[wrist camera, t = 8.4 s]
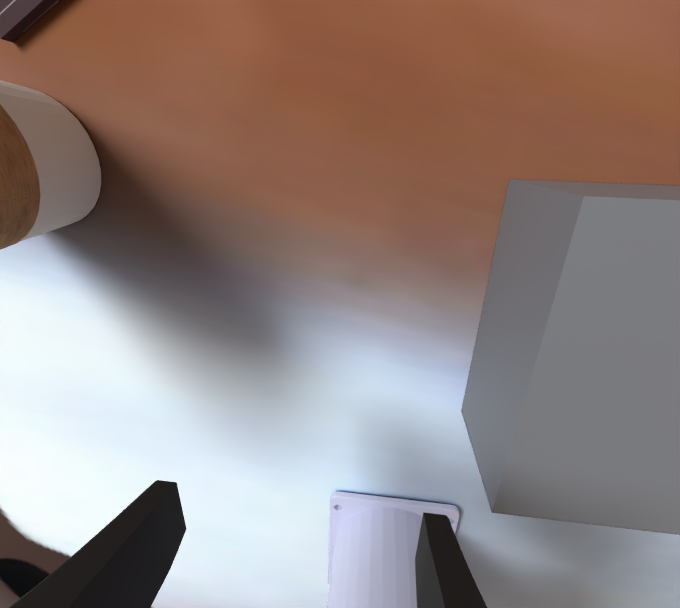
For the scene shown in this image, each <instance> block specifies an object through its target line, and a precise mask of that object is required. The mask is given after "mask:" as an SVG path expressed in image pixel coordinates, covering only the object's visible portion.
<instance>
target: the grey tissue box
mask: <svg viewBox="0 0 680 608" xmlns="http://www.w3.org/2000/svg"><path fill="white" fill-rule="evenodd" d="M461 412H462V415H463V418H464V421H465V425H466V428H467V431H468V435H469V438H470V441H471V445H472V448H473V451H474V455H475V458H476V461H477V465H478V468H479V471H480V475H481V478H482V481H483V485H484V488H485V491H486V495H487V498H488V501H489V505H490V508H491V511H492V513H501V514H509V515H517V516H526V517H534V518H543V519H551V520H560V521H568V522H577V523H585V524H593V525H602V526H610V527H619V528H627V529H636V530H644V531H652V532H661V533H669V534H678V535H680V186H673V185H648V184H622V183H597V182H571V181H546V180H520V179H509V183H508V188H507V193H506V198H505V203H504V207H503V212H502V217H501V222H500V227H499V232H498V236H497V241H496V246H495V251H494V256H493V261H492V265H491V270H490V275H489V280H488V285H487V289H486V294H485V299H484V304H483V309H482V314H481V318H480V323H479V328H478V333H477V338H476V343H475V347H474V352H473V357H472V362H471V367H470V371H469V376H468V381H467V386H466V391H465V396H464V400H463V405H462V410H461Z"/></svg>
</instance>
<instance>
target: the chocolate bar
mask: <svg viewBox="0 0 680 608" xmlns="http://www.w3.org/2000/svg"><path fill="white" fill-rule="evenodd" d="M59 1H60V0H0V39H3V40H7V41H10V42H14V41H15V40H16V39H17V38H18V37H19V36H21V35H22V34H23V33H24V32H25V31H26V30H27V29H28V28H30V27H31V26H32V25H33V24H34V23H35V22H36V21H37V20H39V19H40V18H41V17H42V16H43V15H44V14H45V13H46V12H48V11H49V10H50V9H51V8H52V7H53V6H54V5H55V4H57V3H58V2H59Z"/></svg>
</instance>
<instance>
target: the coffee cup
mask: <svg viewBox="0 0 680 608" xmlns="http://www.w3.org/2000/svg"><path fill="white" fill-rule="evenodd" d="M100 189H101V168H100V163H99V158H98V156H97V153H96V150H95V147H94V145H93V143H92V141H91V139H90V137H89V135H88V134H87V132H86V130H85V129H84V128H83V126H82V125H81V123H80V122H79V121H78V119H77V118H76V117H75V116H74V115H73V114H72V113H71V112H70V111H69V110H68V109H67V108H66V107H64V106H63V105H62V104H60V103H59V102H58V101H56V100H55V99H53V98H52V97H50V96H48V95H46V94H44V93H42V92H40V91H37V90H33V89H30V88H26V87H23V86H19V85H16V84H12V83H8V82H4V81H1V80H0V249H3V248H6V247H8V246H11V245H13V244H16V243H18V242H20V241H22V240H25V239H28V238H31V237H34V236H37V235H40V234H43V233H46V232H49V231H52V230H55V229H58V228H61V227H64V226H67V225H69V224H72V223H74V222H77V221H79V220H81V219H83V218H84V217H85V216H87V215H88V214H89V213H90V211H91V210H92V209H93V208H94V206H95V204H96V202H97V200H98V197H99V194H100Z"/></svg>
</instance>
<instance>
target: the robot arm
mask: <svg viewBox="0 0 680 608" xmlns="http://www.w3.org/2000/svg"><path fill="white" fill-rule="evenodd" d="M459 516H460V515H459V509H458V508H457V507H456V506H454V505H449V504H440V503H432V502H423V501H415V500H406V499H398V498H389V497H381V496H372V495H364V494H355V493H347V492H334V493H332V494H331V499H330V529H329V564H328V584H329V592H328V600H327V608H487V606H486V604H485V602H484V600H483V598H482V596H481V594H480V592H479V590H478V588H477V585H476V583H475V581H474V579H473V577H472V574H471V572H470V570H469V568H468V565H467V563H466V561H465V558H464V556H463V554H462V551H461V549H460V546H459V544H458V541H457V539H456V536H455V533H456V529H457V525H458V521H459ZM185 531H186V526H185V521H184V516H183V511H182V507H181V502H180V497H179V492H178V488H177V483H176V482H168V481H159V480H157V481H155V482H154V483H153V484H152V485H151V486H150V487H149V488H147V489H146V490H145V491H144V492H143V493H142V494H141V495H140V496H139V497H138V498H137V499H135V500H134V501H133V502H132V503H131V504H130V505H129V506H128V507H127V508H126V509H125V510H123V511H122V512H121V513H120V514H119V515H118V516H117V517H116V518H115V519H114V520H112V521H111V522H110V523H109V524H108V525H107V526H106V527H105V528H104V529H102V530H101V531H100V532H99V533H98V534H97V535H96V536H95V537H93V538H92V539H91V540H90V541H89V542H88V543H87V544H85V545H84V546H83V547H82V548H81V549H80V550H79V551H78V552H76V553H75V554H74V555H73V556H72V557H71V558H69V559H68V560H67V561H66V562H65V563H63V564H62V565H61V566H60V567H59V568H57V569H56V570H55V571H54V572H53V573H51V574H50V575H49V576H48V577H46V578H45V579H44V580H43V581H42V582H40V583H39V584H38V585H37V586H36V587H34V588H33V589H32V590H31V591H29V592H28V593H27V594H26V595H24V596H23V597H22V598H21V599H19V600H18V601H17V602H16V603H14V604H13V605H12V606H10V607H9V608H150V607H151V605H152V603H153V601H154V599H155V597H156V595H157V593H158V591H159V590H160V588H161V586H162V584H163V582H164V580H165V578H166V576H167V574H168V572H169V570H170V568H171V566H172V563H173V561H174V558H175V556H176V554H177V551H178V549H179V546H180V544H181V541H182V538H183V536H184V533H185Z"/></svg>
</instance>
